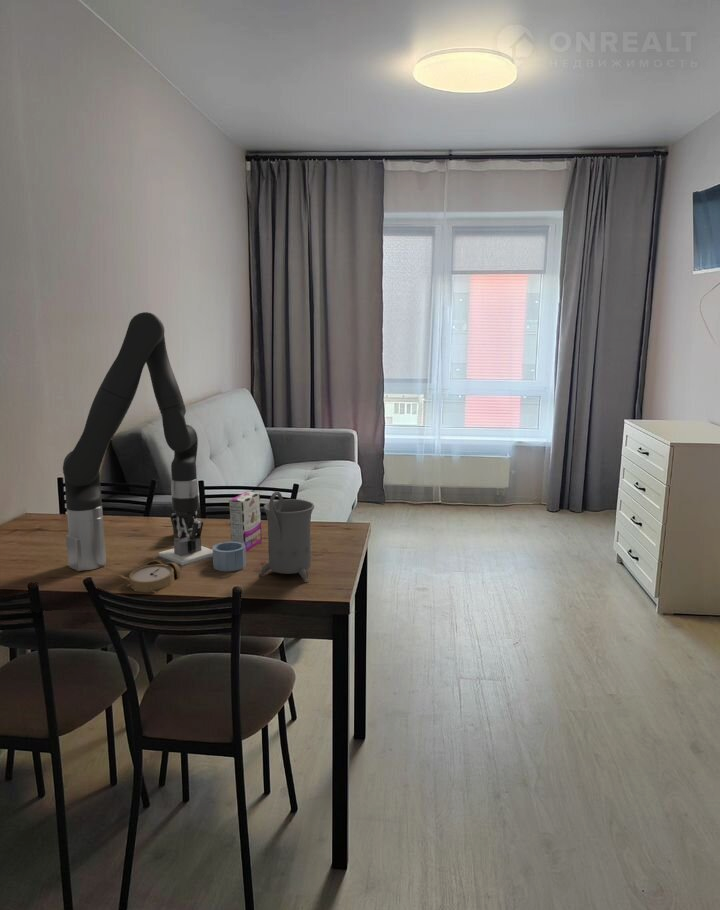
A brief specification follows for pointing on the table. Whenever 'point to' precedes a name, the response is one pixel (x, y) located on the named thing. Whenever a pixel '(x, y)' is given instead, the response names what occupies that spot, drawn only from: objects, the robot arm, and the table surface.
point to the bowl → (229, 556)
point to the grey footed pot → (288, 535)
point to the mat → (179, 564)
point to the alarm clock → (154, 576)
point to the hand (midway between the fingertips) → (188, 550)
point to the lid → (186, 552)
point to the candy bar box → (246, 519)
